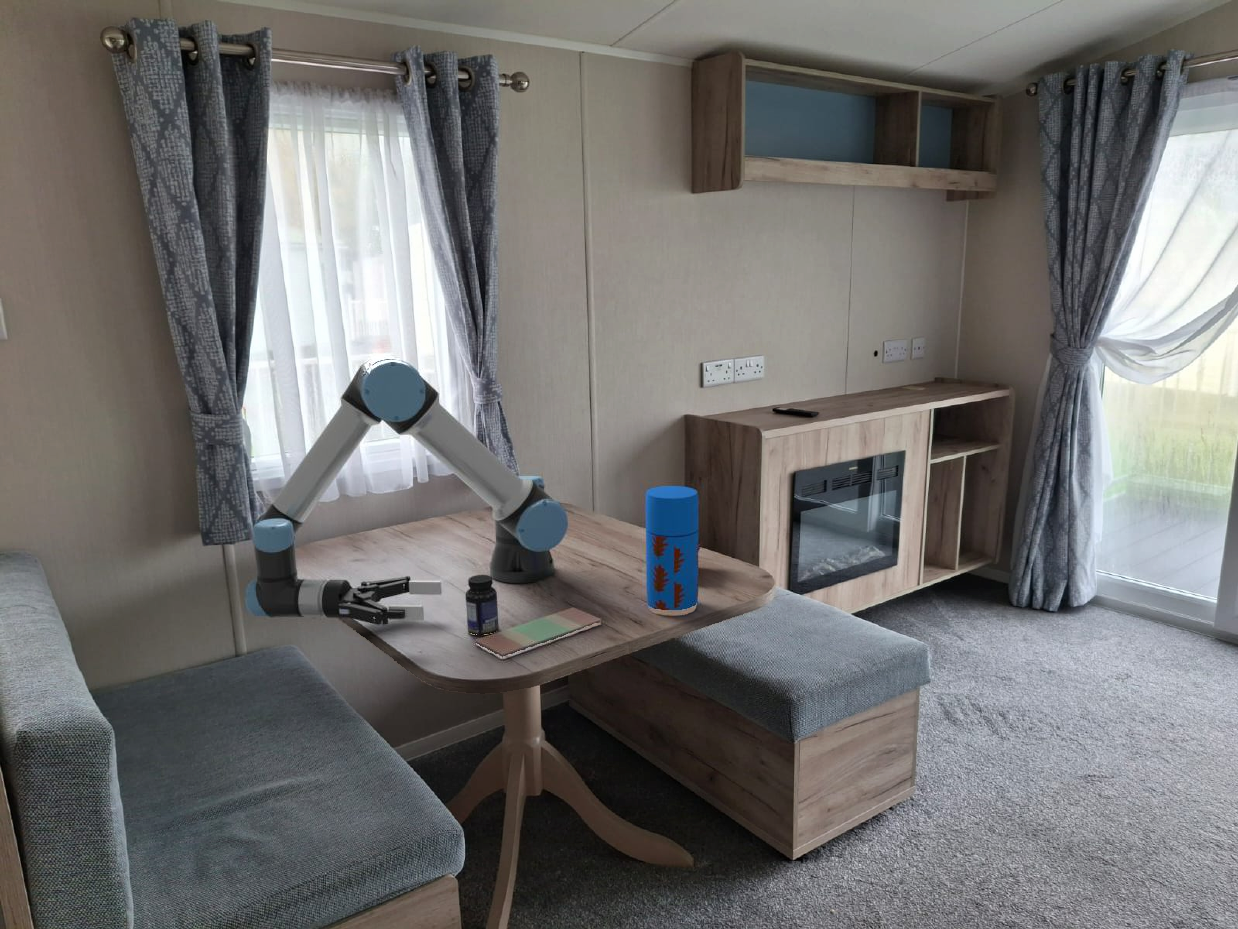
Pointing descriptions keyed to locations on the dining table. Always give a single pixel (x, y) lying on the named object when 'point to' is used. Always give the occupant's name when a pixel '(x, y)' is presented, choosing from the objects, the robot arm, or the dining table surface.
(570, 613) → the gauge plate
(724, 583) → the dining table surface
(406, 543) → the dining table surface
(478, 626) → the pill bottle
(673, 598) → the thermos
